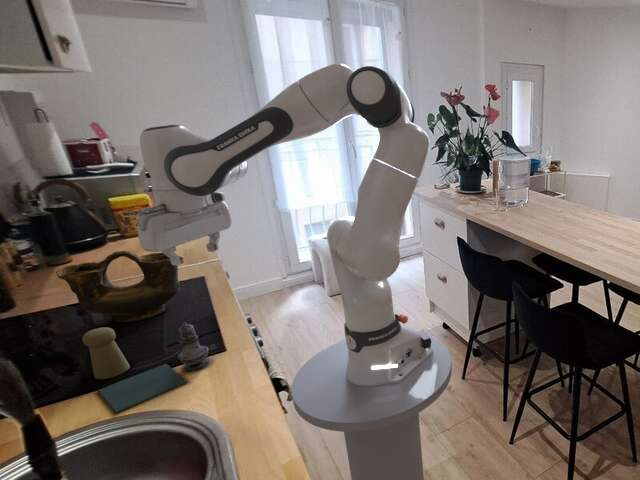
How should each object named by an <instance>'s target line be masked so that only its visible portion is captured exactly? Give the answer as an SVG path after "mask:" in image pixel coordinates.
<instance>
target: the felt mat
mask: <svg viewBox="0 0 640 480" xmlns="http://www.w3.org/2000/svg"><path fill="white" fill-rule="evenodd" d="M188 383H189V382H188V380H187V379H185V378H184V377H183V376H182V375H181V374H179V373H178V372H177V371H176V370H174V369H173V367H171V366H170V365H169V364H168V363H163V364H161V365H158V366H156V367H153V368H151V369H148V370H146V371H144V372H141V373H139V374H136V375H133V376H131V377H127V378H125V379H123V380H120V381H118V382H115V383H113V384H110V385H107V386H105V387H102V388H100V389H97V392H98V393H99V394H100V395H101V397H102V398H103V400H105V401H106V402H107V404H109V406H110V408H112V410H114V412H115V413H116V414H119V413H122V412H124V411H126V410H128V409H131V408H133V407H135V406H138V405H140V404H142V403H144V402H146V401H149V400H152V399H153V398H156V397H158V396H160V395H163V394H165V393H168V392H170V391H172V390H175V389H177V388H179V387H180V386H181V387H182V386H184V385H187V384H188Z"/></svg>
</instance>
